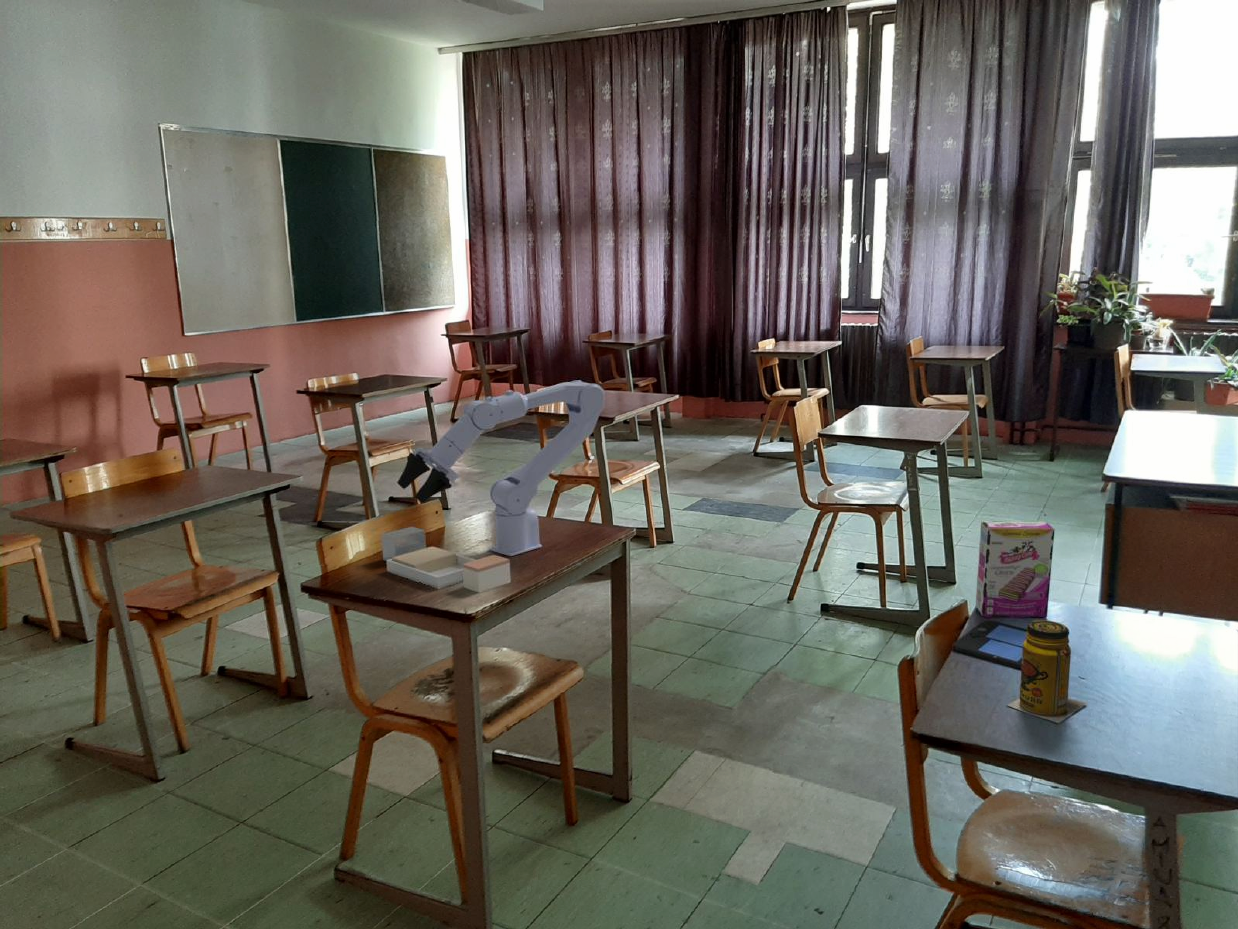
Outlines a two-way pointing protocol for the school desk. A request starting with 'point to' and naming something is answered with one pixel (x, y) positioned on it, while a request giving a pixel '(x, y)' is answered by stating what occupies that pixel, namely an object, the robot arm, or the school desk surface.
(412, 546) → the steel block
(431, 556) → the tray
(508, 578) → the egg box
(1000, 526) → the candy bar box
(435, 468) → the robot arm
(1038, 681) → the condiment
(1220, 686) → the school desk surface
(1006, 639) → the game console
